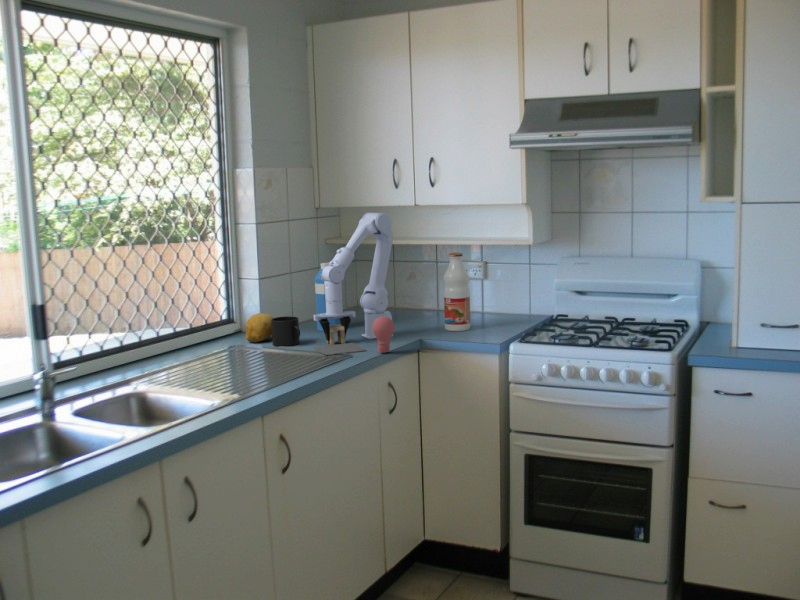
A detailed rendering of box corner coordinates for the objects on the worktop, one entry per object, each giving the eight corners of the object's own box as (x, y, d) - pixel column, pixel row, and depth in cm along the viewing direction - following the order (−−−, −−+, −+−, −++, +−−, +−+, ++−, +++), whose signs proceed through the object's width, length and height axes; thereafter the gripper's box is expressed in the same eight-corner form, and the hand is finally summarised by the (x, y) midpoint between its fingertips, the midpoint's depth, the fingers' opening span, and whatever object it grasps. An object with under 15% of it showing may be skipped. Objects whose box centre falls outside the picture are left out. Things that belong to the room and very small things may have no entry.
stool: (340, 341, 298) (339, 324, 297) (345, 343, 294) (344, 326, 293) (326, 342, 296) (326, 325, 296) (331, 345, 292) (330, 328, 291)
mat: (353, 343, 293) (353, 342, 293) (366, 351, 280) (366, 349, 280) (314, 348, 288) (313, 347, 288) (325, 355, 275) (325, 354, 275)
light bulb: (396, 354, 273) (394, 318, 271) (374, 356, 272) (372, 319, 271) (394, 350, 280) (393, 314, 278) (373, 351, 279) (371, 315, 278)
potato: (239, 343, 301) (237, 315, 300) (259, 336, 312) (257, 310, 311) (263, 345, 297) (261, 316, 295) (283, 338, 308) (281, 311, 307)
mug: (290, 348, 289) (288, 322, 287) (266, 345, 296) (265, 319, 295) (310, 343, 296) (309, 318, 294) (287, 340, 304) (285, 315, 302)
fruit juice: (475, 329, 312) (474, 252, 307) (456, 332, 306) (453, 255, 302) (459, 325, 319) (457, 251, 315) (439, 329, 314) (437, 253, 310)
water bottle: (344, 326, 327) (341, 261, 323) (338, 331, 318) (334, 264, 314) (320, 326, 328) (317, 262, 325) (313, 331, 319) (310, 264, 316)
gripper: (350, 297, 299) (352, 335, 301) (310, 300, 294) (312, 339, 296) (356, 299, 293) (358, 338, 295) (315, 303, 287) (318, 343, 289)
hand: (335, 339), depth 295 cm, fingers closed on stool, 5 cm apart
